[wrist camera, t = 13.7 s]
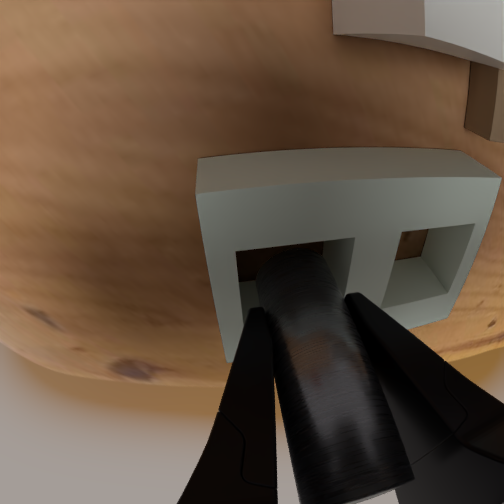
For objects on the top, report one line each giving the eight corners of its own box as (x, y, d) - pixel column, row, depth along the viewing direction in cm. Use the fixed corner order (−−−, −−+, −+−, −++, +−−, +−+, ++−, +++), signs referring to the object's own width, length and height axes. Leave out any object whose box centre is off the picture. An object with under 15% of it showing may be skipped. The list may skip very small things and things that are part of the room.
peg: (331, 244, 9) (434, 468, 4) (324, 299, 11) (392, 491, 5) (254, 253, 9) (309, 509, 4) (257, 308, 11) (297, 517, 5)
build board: (460, 150, 10) (501, 177, 8) (423, 282, 14) (447, 318, 12) (197, 158, 9) (194, 194, 7) (222, 315, 13) (227, 363, 12)
